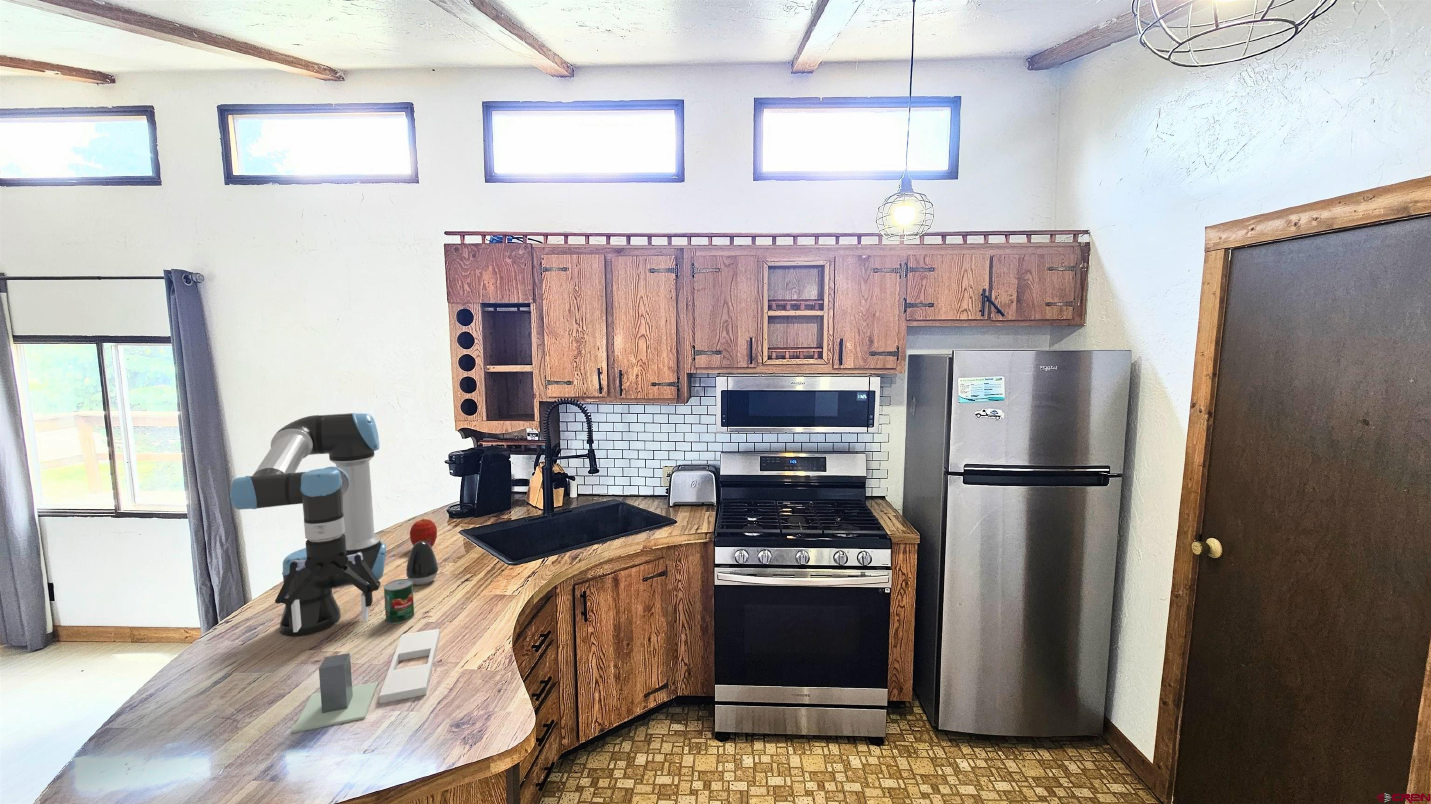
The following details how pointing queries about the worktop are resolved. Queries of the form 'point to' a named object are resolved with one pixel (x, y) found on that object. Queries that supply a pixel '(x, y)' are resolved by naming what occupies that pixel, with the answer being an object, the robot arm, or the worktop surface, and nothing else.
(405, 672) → the rail
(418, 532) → the apple
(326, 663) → the square block
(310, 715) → the pad
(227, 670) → the worktop surface
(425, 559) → the black rounded cone
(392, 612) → the canned tomato
